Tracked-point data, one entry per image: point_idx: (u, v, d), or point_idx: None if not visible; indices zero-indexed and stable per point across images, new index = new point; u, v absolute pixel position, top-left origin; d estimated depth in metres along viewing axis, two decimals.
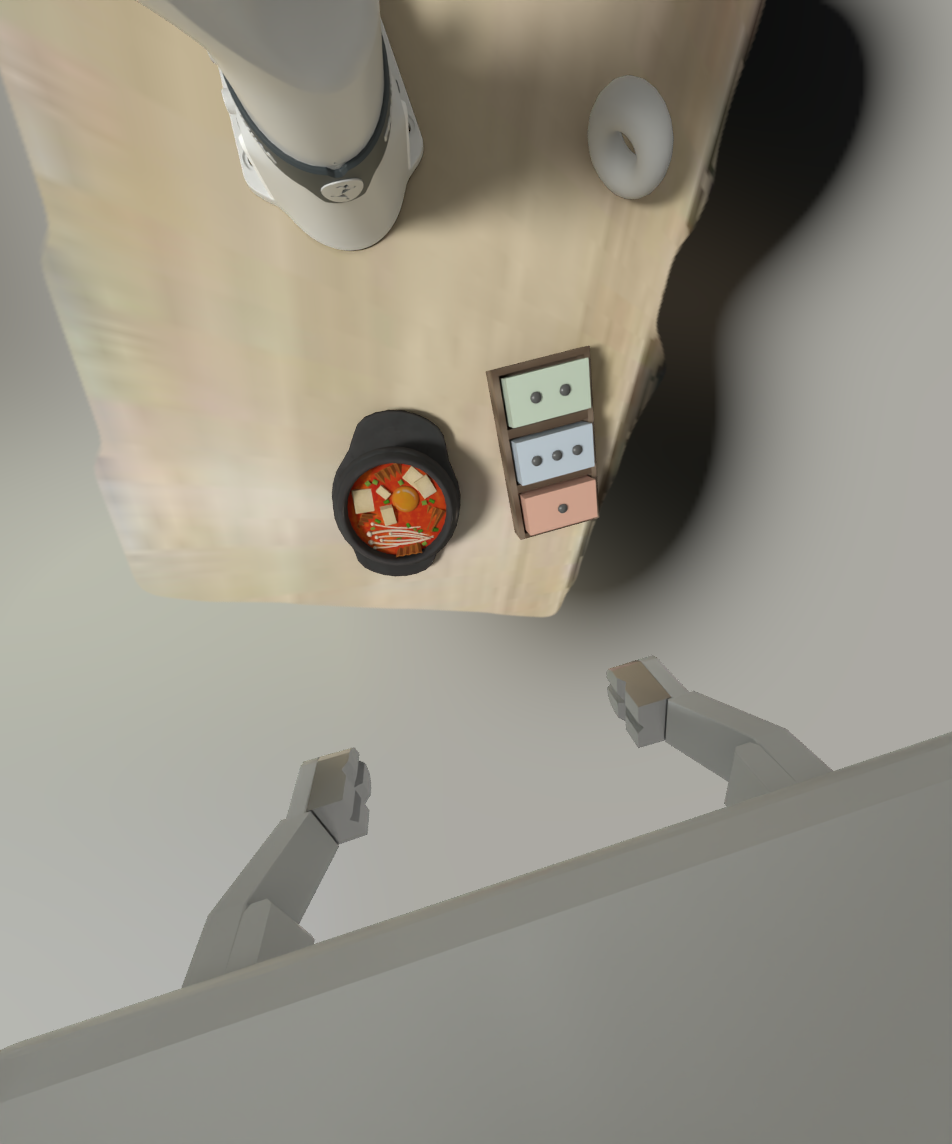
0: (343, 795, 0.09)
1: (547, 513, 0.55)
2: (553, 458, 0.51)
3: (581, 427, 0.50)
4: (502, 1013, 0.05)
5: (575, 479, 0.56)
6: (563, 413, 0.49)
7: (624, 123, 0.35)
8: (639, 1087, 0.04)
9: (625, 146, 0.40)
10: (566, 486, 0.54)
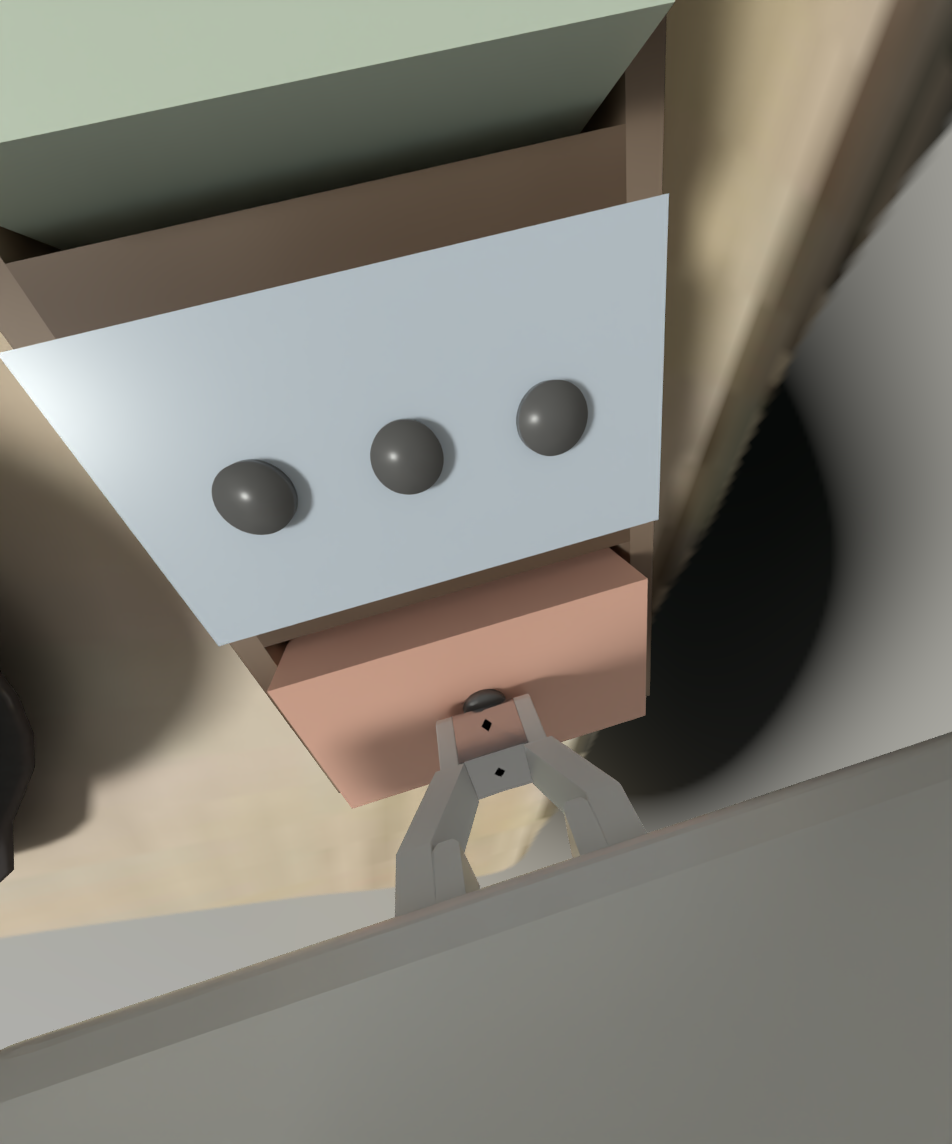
0: (492, 749, 0.10)
1: (411, 730, 0.12)
2: (383, 479, 0.07)
3: (581, 228, 0.06)
4: (501, 1013, 0.05)
5: None
6: (399, 35, 0.05)
7: None
8: (639, 1087, 0.04)
9: None
10: (498, 612, 0.11)
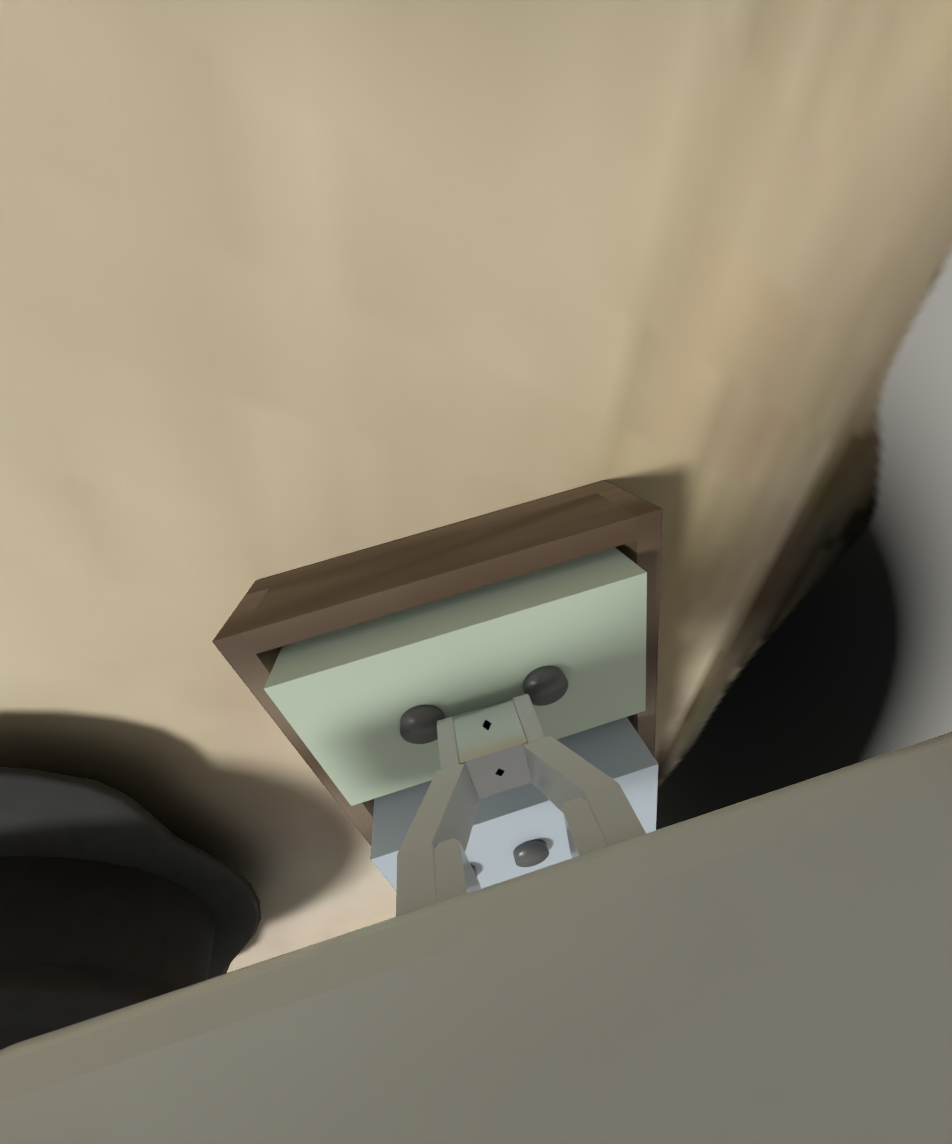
0: (493, 748, 0.10)
1: None
2: None
3: (618, 779, 0.14)
4: (502, 1013, 0.05)
5: None
6: None
7: None
8: (639, 1087, 0.04)
9: None
10: None
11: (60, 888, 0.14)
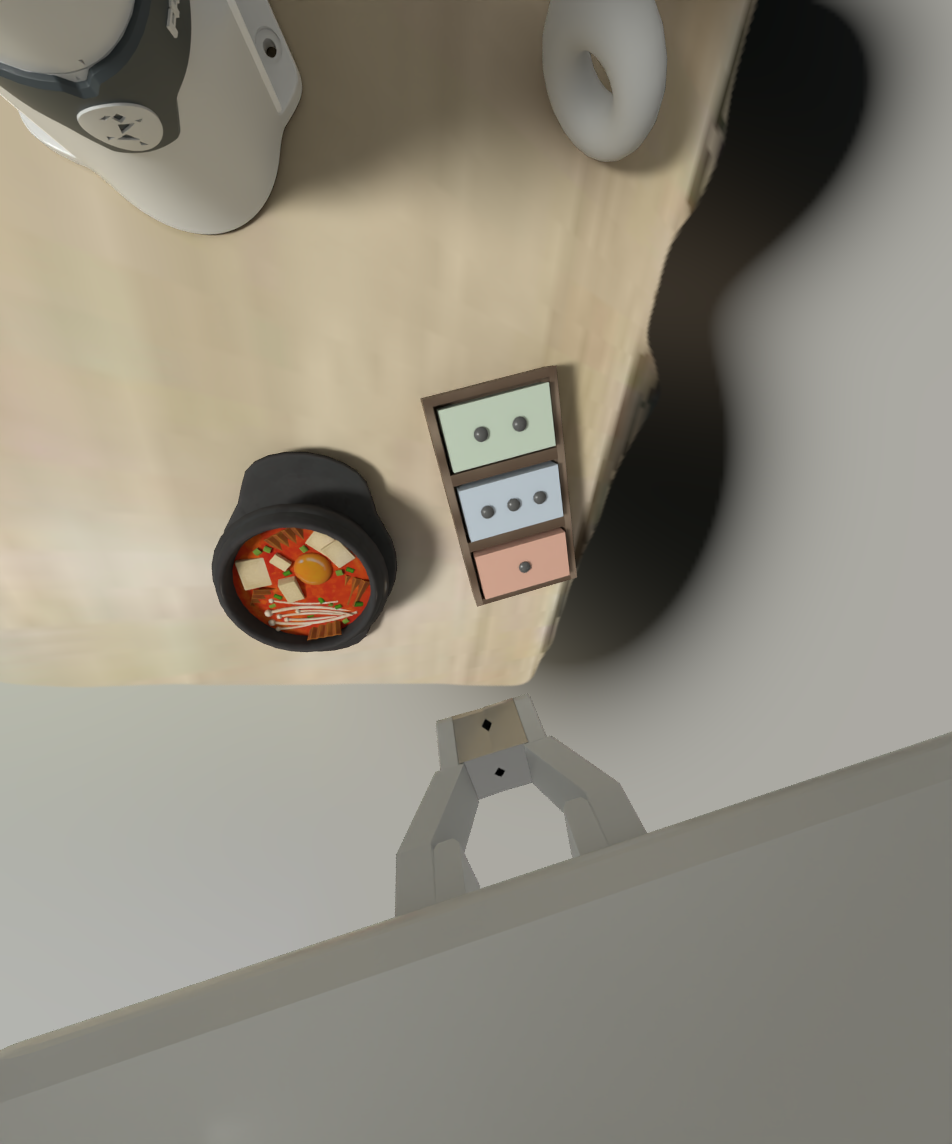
0: (492, 748, 0.10)
1: (505, 573, 0.44)
2: (509, 508, 0.40)
3: (544, 470, 0.39)
4: (502, 1013, 0.05)
5: None
6: (519, 453, 0.38)
7: (591, 33, 0.23)
8: (639, 1087, 0.04)
9: (598, 81, 0.27)
10: (528, 540, 0.43)
11: (343, 515, 0.38)
